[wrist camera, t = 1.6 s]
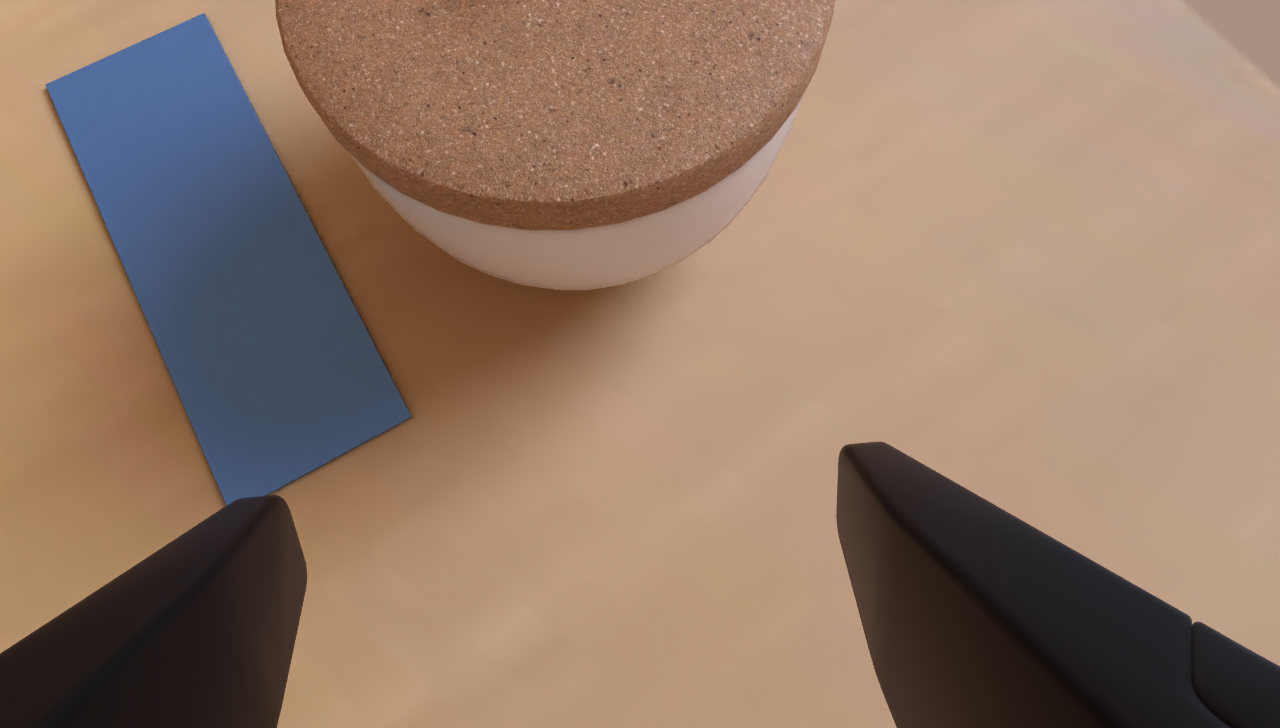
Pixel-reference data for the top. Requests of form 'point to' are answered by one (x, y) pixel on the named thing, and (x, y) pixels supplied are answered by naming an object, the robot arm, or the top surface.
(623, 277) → the trinket box
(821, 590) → the top surface
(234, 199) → the tape strip
